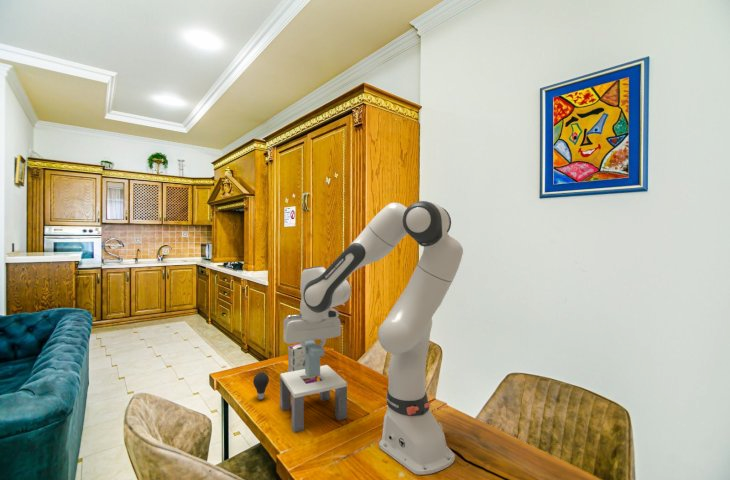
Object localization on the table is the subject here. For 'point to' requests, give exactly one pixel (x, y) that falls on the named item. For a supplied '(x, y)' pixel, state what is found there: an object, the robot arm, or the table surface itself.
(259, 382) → the light bulb
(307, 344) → the peg
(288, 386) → the cutout shelf
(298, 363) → the candy bar box
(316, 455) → the table surface
